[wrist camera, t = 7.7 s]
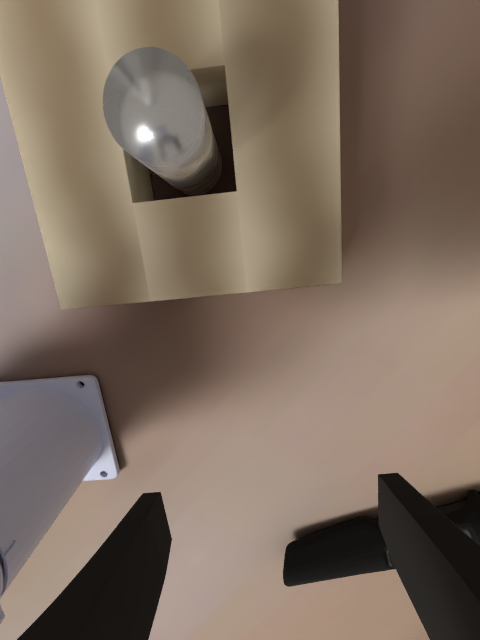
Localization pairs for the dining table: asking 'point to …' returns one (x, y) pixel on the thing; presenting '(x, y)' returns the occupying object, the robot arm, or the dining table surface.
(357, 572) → the electric trimmer
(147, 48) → the peg
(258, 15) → the socket block
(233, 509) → the dining table surface
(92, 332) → the dining table surface
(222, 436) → the dining table surface
